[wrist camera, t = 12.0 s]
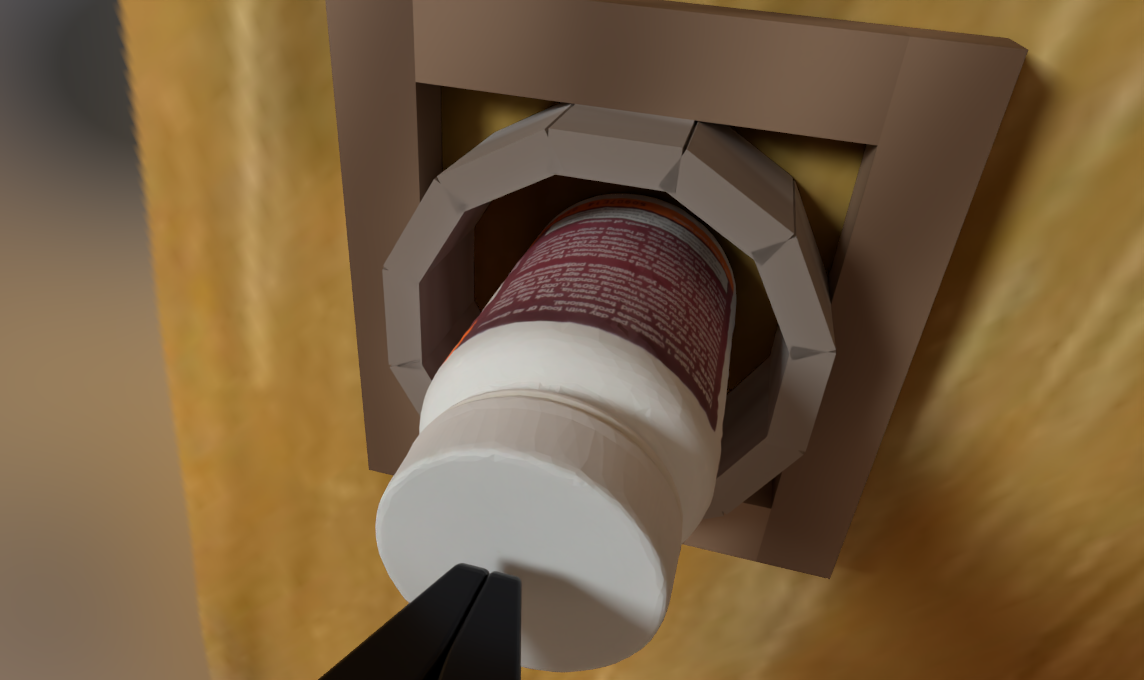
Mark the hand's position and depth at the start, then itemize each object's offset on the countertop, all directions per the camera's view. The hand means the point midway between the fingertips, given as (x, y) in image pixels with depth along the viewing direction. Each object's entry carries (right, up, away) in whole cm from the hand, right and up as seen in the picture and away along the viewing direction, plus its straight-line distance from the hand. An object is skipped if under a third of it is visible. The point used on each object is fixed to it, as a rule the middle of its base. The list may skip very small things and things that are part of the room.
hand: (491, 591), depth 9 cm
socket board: (+2, +4, +7) cm, 9 cm away
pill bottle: (+2, +4, +7) cm, 9 cm away
